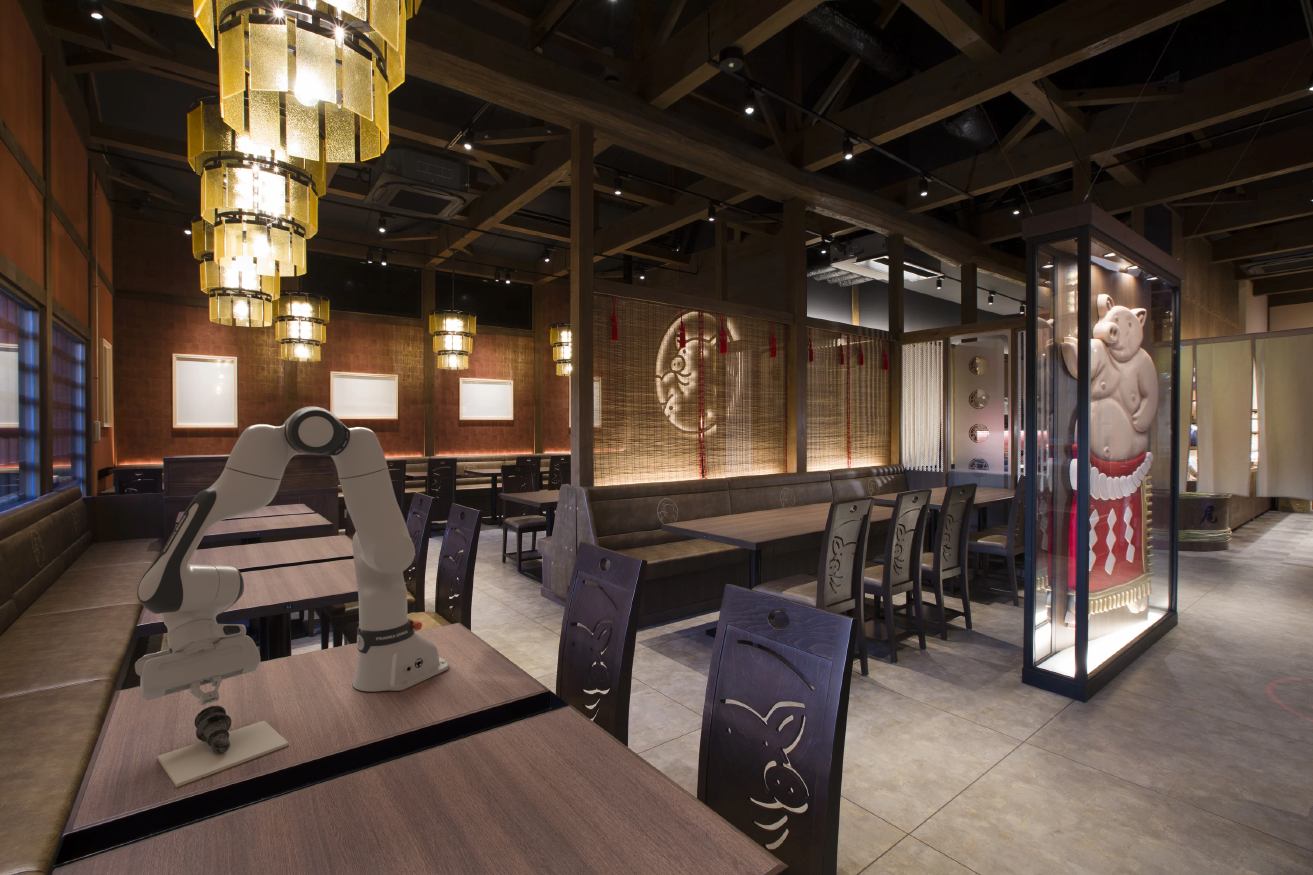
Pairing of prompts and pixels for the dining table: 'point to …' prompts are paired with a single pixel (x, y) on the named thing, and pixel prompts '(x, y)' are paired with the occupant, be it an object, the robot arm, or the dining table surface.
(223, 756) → the placemat
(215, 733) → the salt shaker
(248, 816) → the dining table surface
